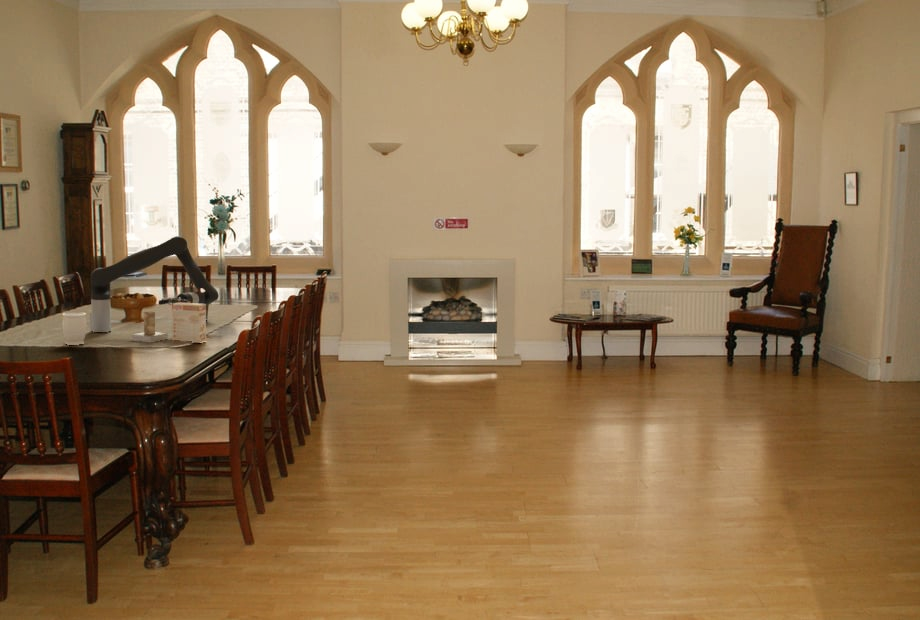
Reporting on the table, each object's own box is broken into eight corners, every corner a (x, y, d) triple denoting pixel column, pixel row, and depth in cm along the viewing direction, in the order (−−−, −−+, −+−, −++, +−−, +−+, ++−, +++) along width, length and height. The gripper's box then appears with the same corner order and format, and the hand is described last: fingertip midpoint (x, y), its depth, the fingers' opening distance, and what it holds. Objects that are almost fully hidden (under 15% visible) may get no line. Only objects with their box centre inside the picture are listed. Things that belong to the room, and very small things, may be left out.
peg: (144, 340, 438) (144, 311, 436) (149, 339, 441) (149, 311, 439) (149, 340, 436) (149, 312, 434) (155, 339, 439) (154, 311, 438)
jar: (78, 341, 432) (78, 311, 430) (91, 344, 427) (90, 313, 425) (58, 344, 424) (57, 313, 422) (70, 347, 418) (70, 315, 416)
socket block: (131, 342, 436) (131, 334, 435) (149, 339, 446) (149, 331, 446) (150, 344, 431) (150, 336, 430) (167, 341, 442) (167, 333, 441)
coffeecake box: (206, 342, 443) (206, 303, 440) (198, 344, 436) (198, 305, 433) (180, 340, 447) (179, 301, 444) (171, 342, 440) (171, 303, 437)
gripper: (176, 291, 463) (154, 295, 449) (198, 293, 458) (176, 296, 443) (177, 306, 464) (154, 309, 450) (198, 308, 459) (177, 311, 444)
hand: (165, 303), depth 446 cm, fingers open, 8 cm apart
